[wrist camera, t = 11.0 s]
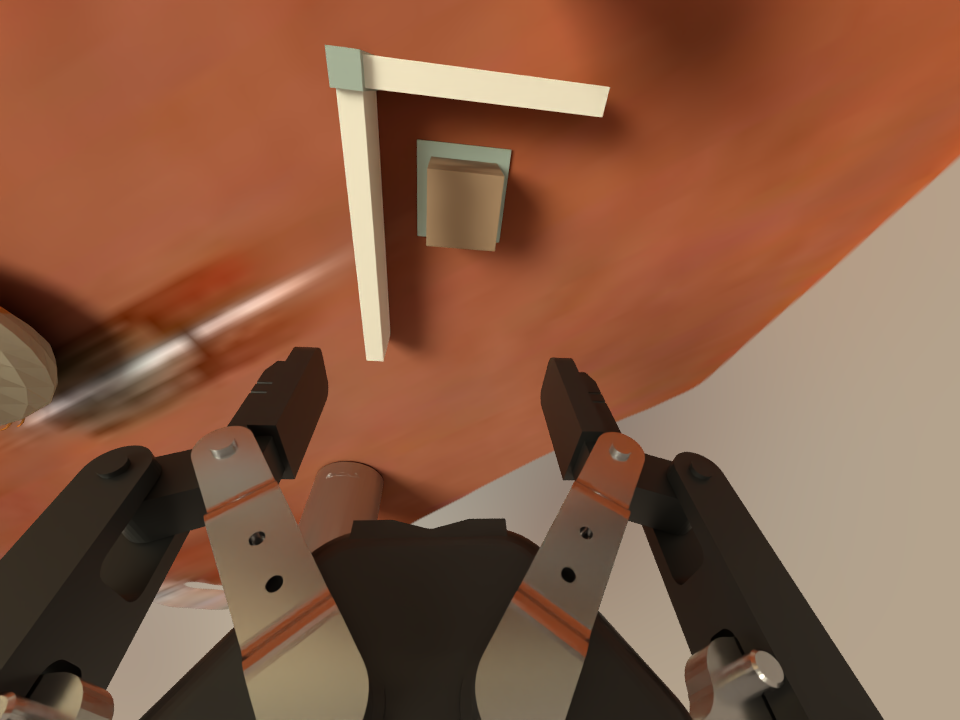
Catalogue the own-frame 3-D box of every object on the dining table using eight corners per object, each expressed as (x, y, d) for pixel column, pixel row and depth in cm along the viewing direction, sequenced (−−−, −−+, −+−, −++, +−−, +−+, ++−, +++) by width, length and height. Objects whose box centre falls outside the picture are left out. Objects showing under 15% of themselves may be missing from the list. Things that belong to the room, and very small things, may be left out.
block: (497, 163, 27) (504, 176, 23) (489, 229, 30) (494, 251, 26) (431, 156, 27) (427, 168, 23) (430, 224, 30) (426, 245, 26)
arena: (530, 341, 38) (539, 372, 34) (373, 333, 36) (363, 365, 32) (588, 84, 25) (615, 83, 21) (347, 52, 23) (324, 44, 19)
